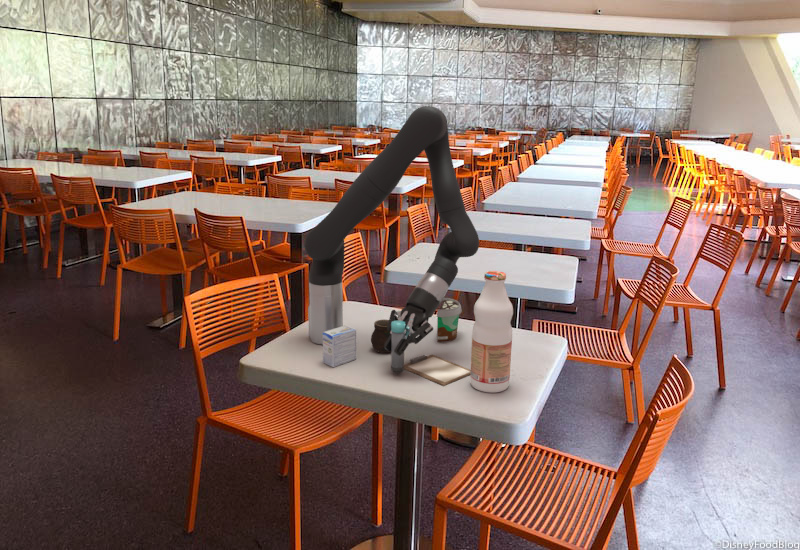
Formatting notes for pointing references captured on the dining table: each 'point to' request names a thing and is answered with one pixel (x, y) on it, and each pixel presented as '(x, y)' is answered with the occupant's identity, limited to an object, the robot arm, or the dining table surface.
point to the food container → (448, 320)
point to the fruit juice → (492, 336)
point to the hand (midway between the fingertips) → (391, 351)
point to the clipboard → (437, 369)
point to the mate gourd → (380, 335)
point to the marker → (397, 335)
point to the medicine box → (339, 346)
